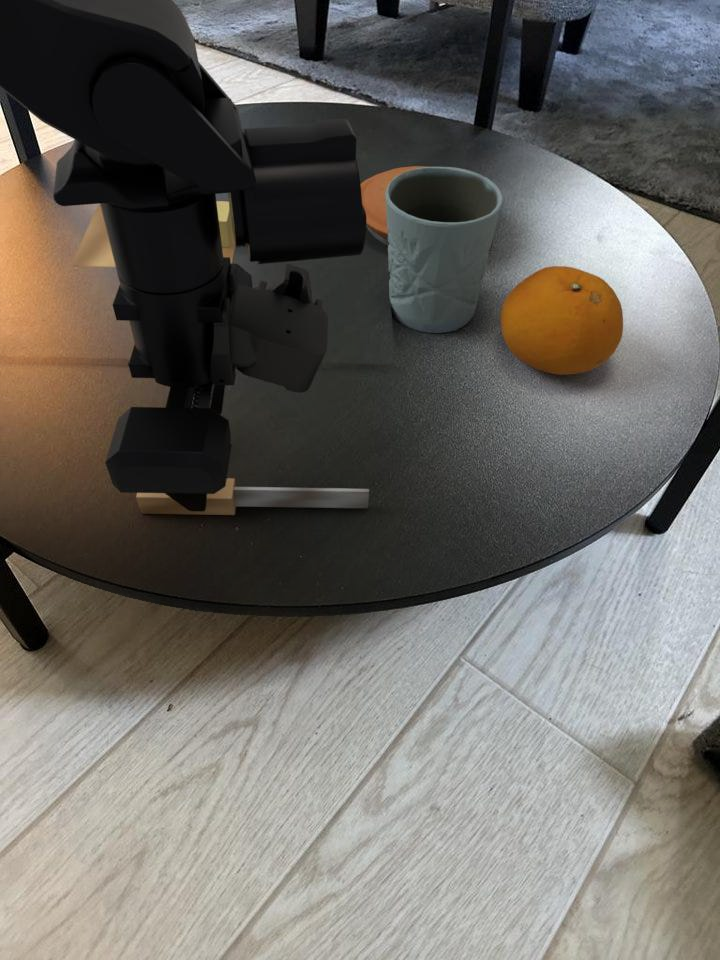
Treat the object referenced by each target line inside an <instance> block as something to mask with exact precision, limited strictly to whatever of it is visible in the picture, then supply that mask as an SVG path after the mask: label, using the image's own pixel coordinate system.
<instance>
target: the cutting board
mask: <svg viewBox="0 0 720 960" xmlns="http://www.w3.org/2000/svg"><path fill="white" fill-rule="evenodd" d="M222 251H223V257H230V261H231V264H233V261H234V255H235V251H236V246H235V242H234V236H233V235H232V240H231V245H230V247H222ZM70 267H85V268H86V267H88V268H89V267H91V268H116V266H115V262H114V258H113V254H112V250H111V246H110V242H109V238H108V234H107V230H106V226H105V222H104V218H103V214H102V210H101V206H100V204H97V206H96V208H95V211H94V213H93V215H92V217H91V219H90V221H89V224H88V226H87V228H86V231H85V233H84V235H83V238H82V240H81V242H80V244H79V247H78V248H77V251H76V254H75V256H74V258H73V260H72V262H71V265H70Z"/></svg>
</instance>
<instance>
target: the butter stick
mask: <svg viewBox="0 0 720 960" xmlns="http://www.w3.org/2000/svg"><path fill="white" fill-rule="evenodd" d="M216 202H217V210H218V219H219V227H220V235H221V243H222V247H230V245H231V240H232V235H233V230H232V223H231V216H230V208H229V201H226V200H225V201H222V200H221V201H220V200H216Z"/></svg>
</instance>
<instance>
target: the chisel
mask: <svg viewBox="0 0 720 960" xmlns="http://www.w3.org/2000/svg"><path fill="white" fill-rule="evenodd" d="M135 498H136V501H137V504H138V508H139V510H140V513H141V514H142V515H203V516H210V515H211V516H212V515H213V516H235V515H236V511H237V507H241V508H245V507H247V508H248V507H249V508H250V507H252V508H256V507H257V508H314V509H315V508H318V509H321V508H322V509H329V508H330V509H369V499H370V489H369V488H347V487H346V488H343V487H341V488H339V487H283V486H282V487H279V486H278V487H273V486H272V487H270V486H237V482H236V478H234V477H232V478H230V477H229V478H228V477H227V479H226V486H225V487H224V488H222V489H221V490H219V491H218V492H216V493H215V494H207V502H206V510H205V511H202V512H199V511H189V510H187V509H186V508H184V507H183V506H182V505H180V504H179V503H177V502H176V501H175V500H173V499H172V498H170V497H169V496H168V495H166V494H165V493H136V497H135Z"/></svg>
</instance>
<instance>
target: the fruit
mask: <svg viewBox="0 0 720 960" xmlns="http://www.w3.org/2000/svg"><path fill="white" fill-rule="evenodd" d="M623 313H624V312H623V307H622V303H621V301H620V300H619V298H618V295H617V293H616V292H615V291H614V289H613V287H611V286H610V284H608V282H606V281H605V280H604V278H601V277H600V276H597V275H596V274H594V273H590V272H588V271H584V270H582V269H579V268H576V267H573V266H566V265H559V266H558V265H557V266H556V265H554V266H547V267H543V268H541V269H539V270H537V271H535V272H533V273H532V274H530V275H529V276H526V278H524V279H523V280H522V281H521V282H519V283H517V285H516V286H515V287H514V288H513V289H512V290H511V291H510V292H509V294H508V295H507V296H506V298H505V300H504V302H503V304H502V307H501V312H500V327H501V333H502V336H503V340H504V342H505V344H506V346H507V347H508V349H509V351H510V352H511V353H512V354H513V355H514V356H515V357H516V359H518V360H519V361H521V362H523V363H524V364H526V365H527V366H529V367H532V368H533V369H536V370H538V371H541V372H543V373H544V372H545V373H548V374H552V375H560V376H561V375H563V376H564V375H577V374H578V375H579V374H582V373H586V372H588V371H592V370H593V369H596V368H598V367H599V366H602V364H604V363H605V362H607V360H609V359H610V358H611V357H612V356H613V355H614V353H615V352H616V350H617V348H618V347H619V344H620V342H621V340H622V338H623V332H624V315H623Z"/></svg>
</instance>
